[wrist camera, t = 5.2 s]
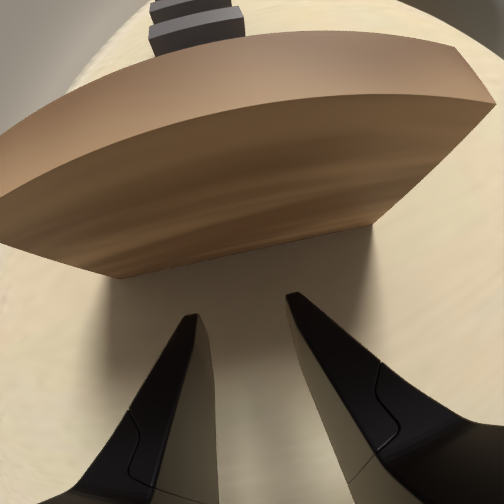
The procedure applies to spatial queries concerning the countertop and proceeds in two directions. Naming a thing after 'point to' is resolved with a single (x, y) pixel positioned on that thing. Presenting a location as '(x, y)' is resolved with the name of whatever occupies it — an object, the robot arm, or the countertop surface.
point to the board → (233, 148)
